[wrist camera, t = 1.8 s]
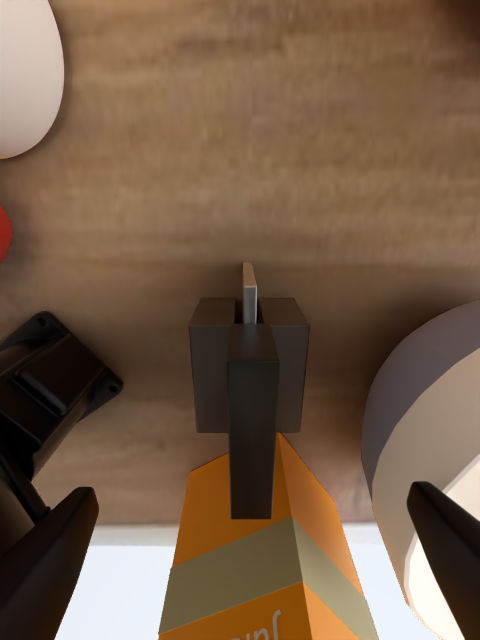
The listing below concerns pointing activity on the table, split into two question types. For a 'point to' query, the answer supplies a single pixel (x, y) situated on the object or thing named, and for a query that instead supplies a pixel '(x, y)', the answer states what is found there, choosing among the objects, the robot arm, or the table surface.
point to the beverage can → (28, 74)
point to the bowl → (425, 445)
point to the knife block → (211, 359)
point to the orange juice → (263, 564)
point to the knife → (252, 409)
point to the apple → (4, 233)
